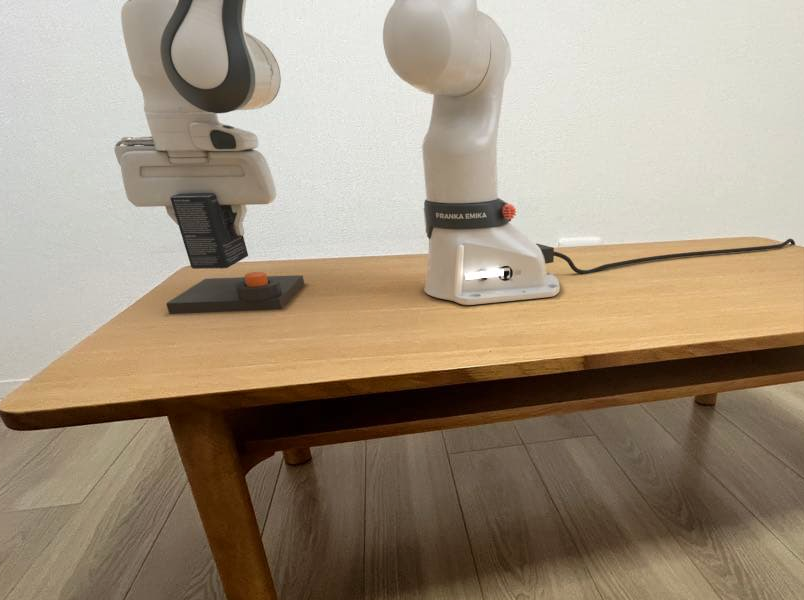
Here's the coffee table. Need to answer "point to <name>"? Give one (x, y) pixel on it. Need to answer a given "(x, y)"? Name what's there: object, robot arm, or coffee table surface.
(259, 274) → the button
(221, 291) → the scale
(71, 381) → the coffee table surface
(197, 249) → the box
